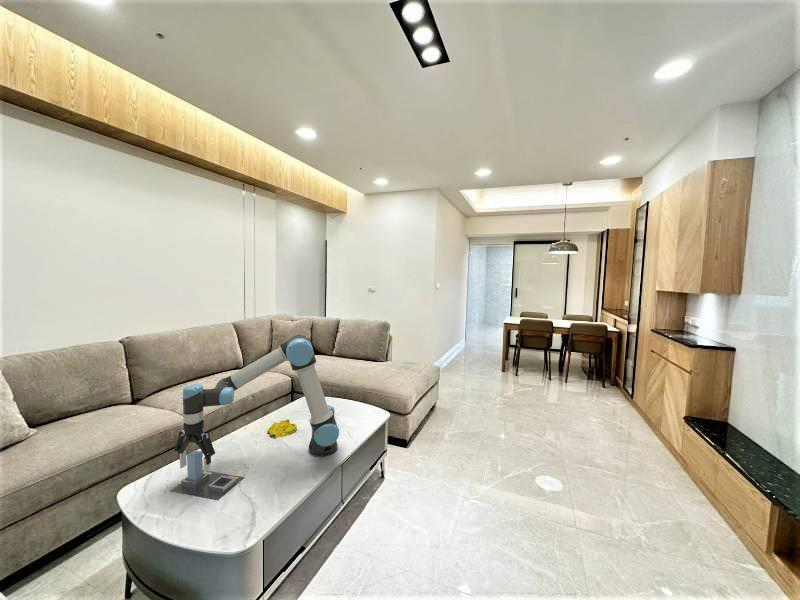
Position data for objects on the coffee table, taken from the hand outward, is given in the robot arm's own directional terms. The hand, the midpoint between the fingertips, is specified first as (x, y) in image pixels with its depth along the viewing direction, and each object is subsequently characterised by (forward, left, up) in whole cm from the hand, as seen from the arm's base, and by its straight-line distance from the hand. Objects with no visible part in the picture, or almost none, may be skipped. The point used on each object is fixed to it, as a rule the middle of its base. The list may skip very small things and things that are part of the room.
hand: (195, 468), depth 144 cm
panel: (-7, 0, -7) cm, 10 cm away
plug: (0, 0, -6) cm, 6 cm away
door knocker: (-8, -55, -7) cm, 56 cm away
